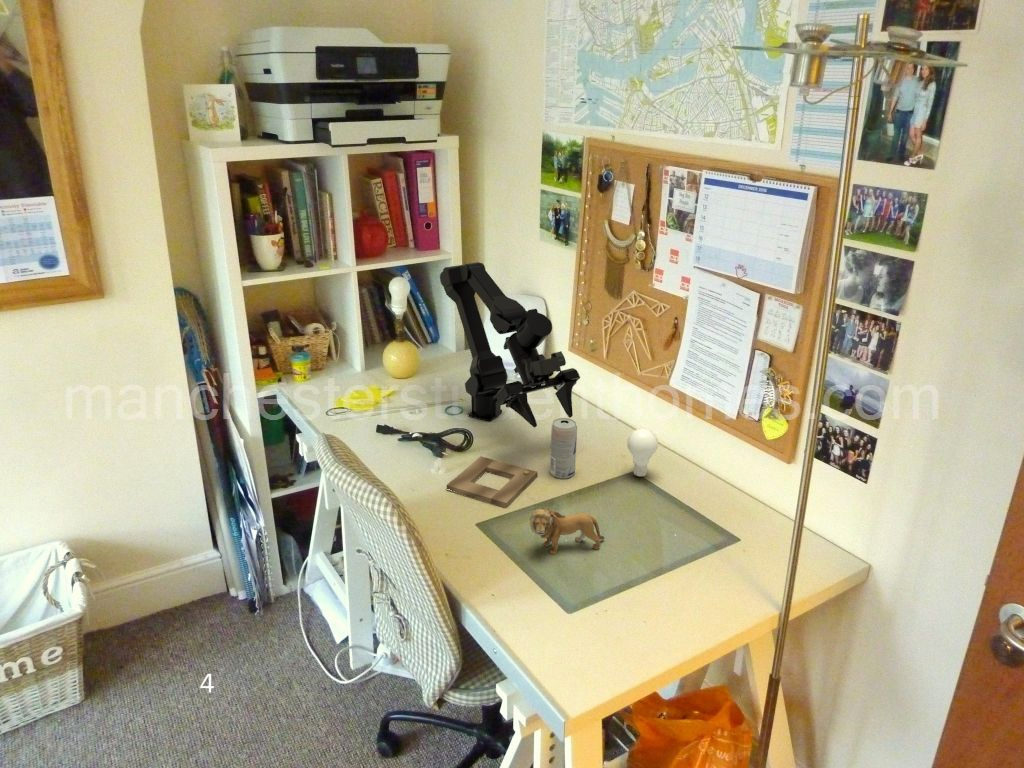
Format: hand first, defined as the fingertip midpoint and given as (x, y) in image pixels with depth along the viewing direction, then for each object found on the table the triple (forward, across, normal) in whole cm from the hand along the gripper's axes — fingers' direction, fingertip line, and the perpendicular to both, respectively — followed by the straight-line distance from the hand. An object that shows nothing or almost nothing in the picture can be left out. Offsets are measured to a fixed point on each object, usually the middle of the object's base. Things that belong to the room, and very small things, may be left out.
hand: (553, 421), depth 162 cm
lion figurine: (+26, -15, -11) cm, 32 cm away
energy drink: (+10, 0, +5) cm, 11 cm away
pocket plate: (+7, -15, +8) cm, 18 cm away
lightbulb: (+17, +14, -2) cm, 22 cm away
